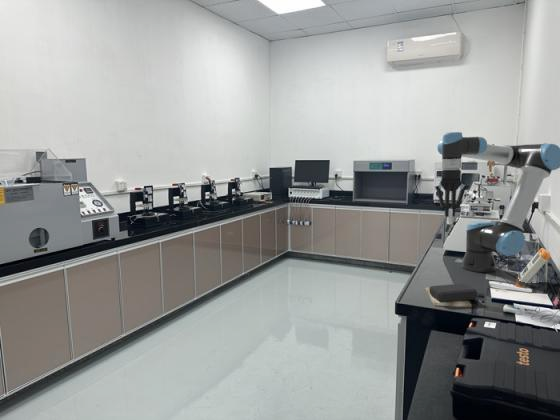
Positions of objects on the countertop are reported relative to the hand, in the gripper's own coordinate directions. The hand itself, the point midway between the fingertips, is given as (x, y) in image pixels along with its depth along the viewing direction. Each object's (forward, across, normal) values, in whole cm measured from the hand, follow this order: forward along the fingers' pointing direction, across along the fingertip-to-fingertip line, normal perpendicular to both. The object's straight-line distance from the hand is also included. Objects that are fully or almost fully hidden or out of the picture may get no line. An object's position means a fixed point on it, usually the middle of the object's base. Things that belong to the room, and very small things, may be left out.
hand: (449, 223), depth 167 cm
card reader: (+23, +4, -19) cm, 30 cm away
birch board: (+26, -4, -19) cm, 33 cm away
